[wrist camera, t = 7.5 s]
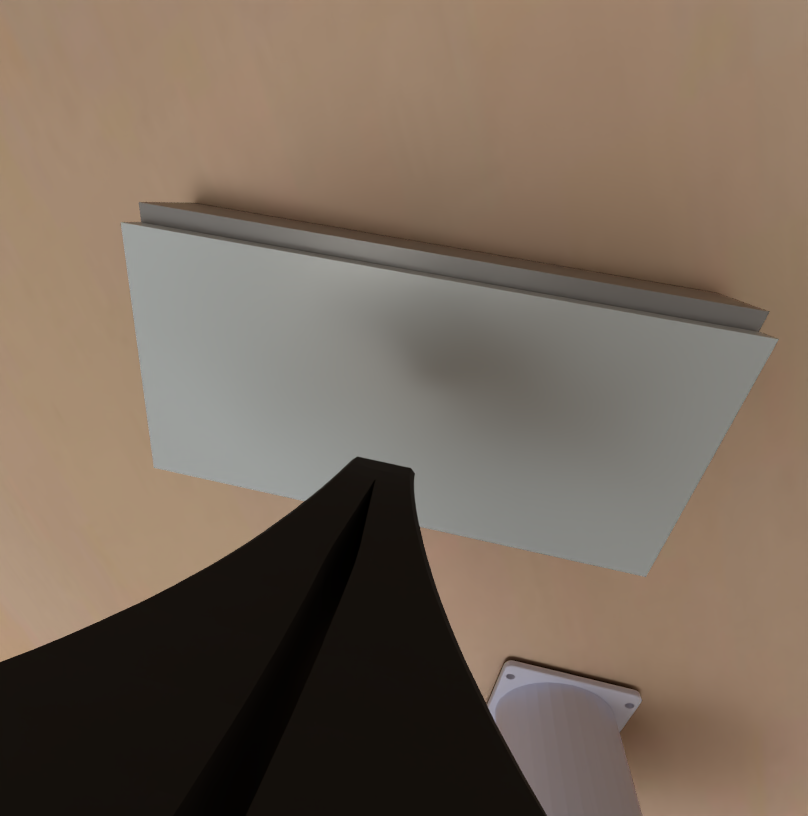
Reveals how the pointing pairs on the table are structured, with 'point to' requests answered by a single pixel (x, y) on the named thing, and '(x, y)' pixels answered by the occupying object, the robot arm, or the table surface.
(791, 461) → the table surface
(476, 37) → the table surface
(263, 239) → the panel
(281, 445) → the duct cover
